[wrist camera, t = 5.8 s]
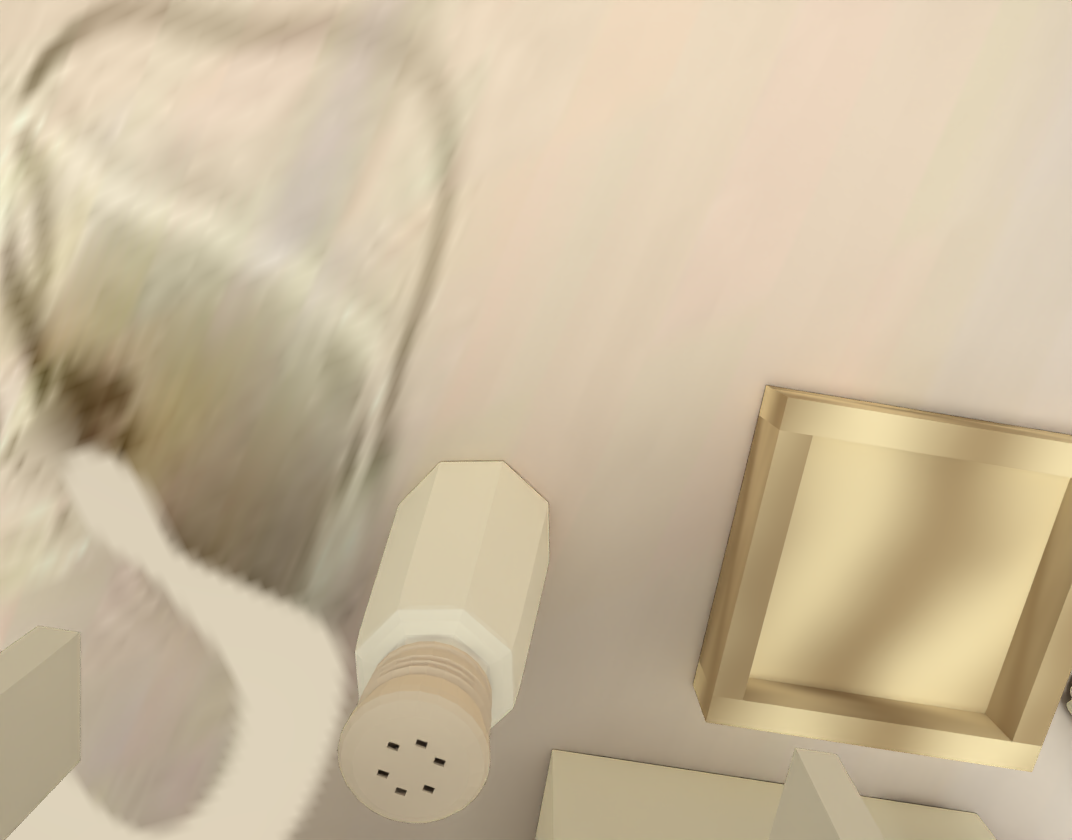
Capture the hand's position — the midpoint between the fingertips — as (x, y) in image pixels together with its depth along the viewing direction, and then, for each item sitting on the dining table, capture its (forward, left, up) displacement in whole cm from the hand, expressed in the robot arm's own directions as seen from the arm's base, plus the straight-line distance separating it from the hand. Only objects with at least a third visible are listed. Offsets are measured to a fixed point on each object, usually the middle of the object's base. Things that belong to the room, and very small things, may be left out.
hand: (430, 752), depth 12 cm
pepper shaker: (0, 0, -11) cm, 11 cm away
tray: (+14, +1, -11) cm, 17 cm away
